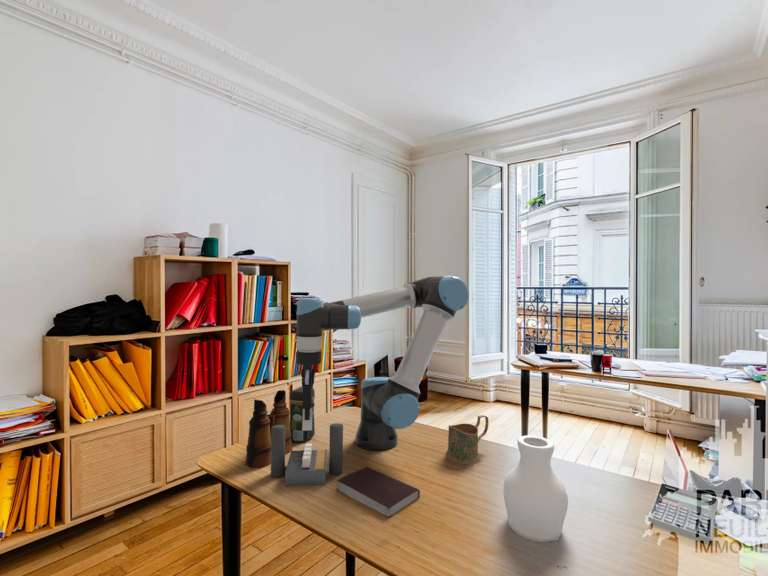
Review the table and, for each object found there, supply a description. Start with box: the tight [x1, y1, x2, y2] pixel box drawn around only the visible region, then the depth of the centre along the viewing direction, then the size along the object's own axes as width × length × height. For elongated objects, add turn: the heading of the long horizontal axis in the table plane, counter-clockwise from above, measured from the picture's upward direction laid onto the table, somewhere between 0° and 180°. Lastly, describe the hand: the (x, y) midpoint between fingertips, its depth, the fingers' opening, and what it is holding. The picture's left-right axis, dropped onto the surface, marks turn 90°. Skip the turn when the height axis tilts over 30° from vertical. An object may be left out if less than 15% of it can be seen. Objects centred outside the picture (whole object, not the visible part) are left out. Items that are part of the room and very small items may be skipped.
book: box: [336, 466, 421, 519], centre depth 106 cm, size 12×19×3 cm, turn 48°
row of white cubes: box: [302, 443, 313, 468], centre depth 117 cm, size 2×11×2 cm, turn 7°
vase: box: [503, 434, 569, 543], centre depth 92 cm, size 14×14×20 cm
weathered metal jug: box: [444, 415, 489, 465], centre depth 132 cm, size 12×18×12 cm, turn 124°
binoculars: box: [244, 389, 293, 469], centre depth 128 cm, size 18×8×20 cm, turn 156°
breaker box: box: [284, 449, 328, 487], centre depth 117 cm, size 11×14×4 cm
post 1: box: [270, 425, 286, 479], centre depth 116 cm, size 4×4×14 cm
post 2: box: [328, 422, 344, 476], centre depth 118 cm, size 4×4×14 cm
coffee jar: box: [289, 385, 316, 443], centre depth 144 cm, size 10×8×19 cm
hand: (307, 429), depth 117 cm, fingers closed
